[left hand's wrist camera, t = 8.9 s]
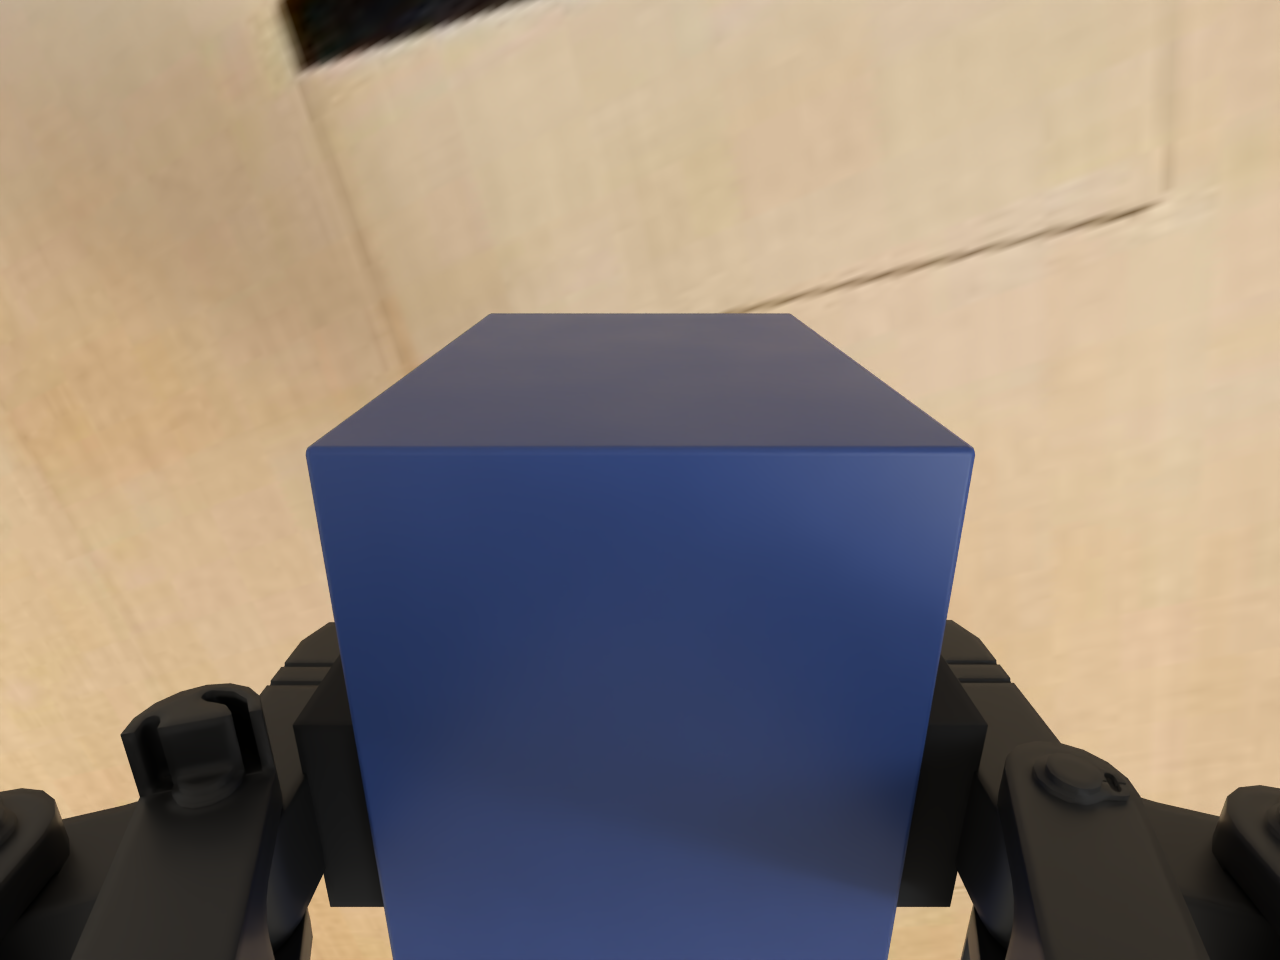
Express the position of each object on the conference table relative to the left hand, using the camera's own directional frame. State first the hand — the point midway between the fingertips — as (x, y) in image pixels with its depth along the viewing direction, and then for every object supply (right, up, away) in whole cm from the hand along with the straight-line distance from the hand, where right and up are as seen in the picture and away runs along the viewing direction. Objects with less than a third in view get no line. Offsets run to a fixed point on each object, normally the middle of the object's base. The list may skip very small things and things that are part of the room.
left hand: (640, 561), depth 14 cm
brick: (0, +1, +2) cm, 2 cm away
